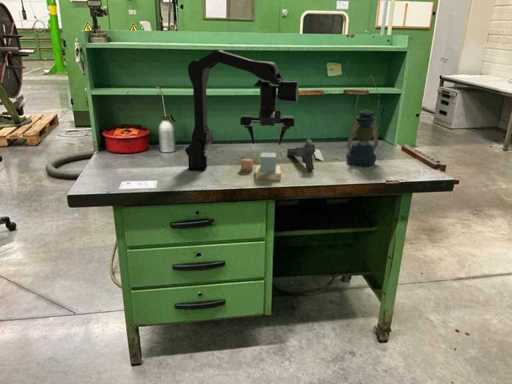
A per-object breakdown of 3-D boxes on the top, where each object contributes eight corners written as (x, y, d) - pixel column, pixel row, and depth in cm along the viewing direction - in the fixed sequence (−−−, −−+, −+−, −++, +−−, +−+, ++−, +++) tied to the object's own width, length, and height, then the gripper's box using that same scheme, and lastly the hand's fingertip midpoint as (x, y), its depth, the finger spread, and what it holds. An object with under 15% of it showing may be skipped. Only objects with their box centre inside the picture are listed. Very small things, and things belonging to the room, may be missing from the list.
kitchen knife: (329, 159, 173) (317, 156, 173) (326, 165, 174) (315, 162, 174) (315, 140, 200) (306, 137, 200) (313, 145, 201) (304, 142, 201)
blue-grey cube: (260, 171, 151) (260, 156, 149) (260, 166, 156) (260, 152, 154) (275, 171, 151) (276, 157, 149) (275, 167, 156) (275, 152, 154)
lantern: (354, 168, 164) (364, 76, 152) (337, 160, 175) (345, 73, 162) (384, 165, 169) (396, 75, 157) (366, 157, 180) (376, 72, 167)
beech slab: (255, 179, 151) (255, 173, 150) (255, 171, 159) (256, 165, 158) (280, 180, 151) (280, 173, 150) (279, 172, 159) (280, 165, 158)
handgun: (306, 171, 158) (305, 145, 157) (286, 169, 182) (284, 146, 180) (316, 171, 159) (315, 144, 158) (294, 169, 182) (293, 145, 181)
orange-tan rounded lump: (240, 171, 159) (239, 161, 157) (242, 168, 163) (242, 158, 161) (251, 172, 158) (251, 162, 157) (253, 168, 162) (253, 158, 161)
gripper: (239, 103, 138) (239, 149, 144) (296, 105, 138) (293, 151, 143) (241, 98, 148) (241, 141, 154) (294, 99, 148) (292, 142, 154)
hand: (266, 144), depth 151 cm, fingers open, 9 cm apart
